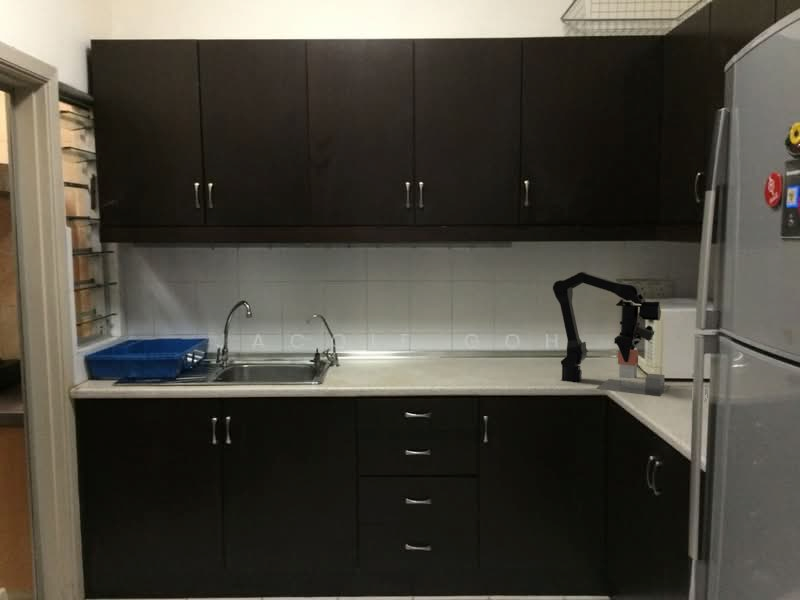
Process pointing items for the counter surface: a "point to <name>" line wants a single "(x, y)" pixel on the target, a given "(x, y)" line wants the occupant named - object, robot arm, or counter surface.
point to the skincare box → (628, 370)
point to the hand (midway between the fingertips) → (627, 360)
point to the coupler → (637, 385)
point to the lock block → (632, 358)
